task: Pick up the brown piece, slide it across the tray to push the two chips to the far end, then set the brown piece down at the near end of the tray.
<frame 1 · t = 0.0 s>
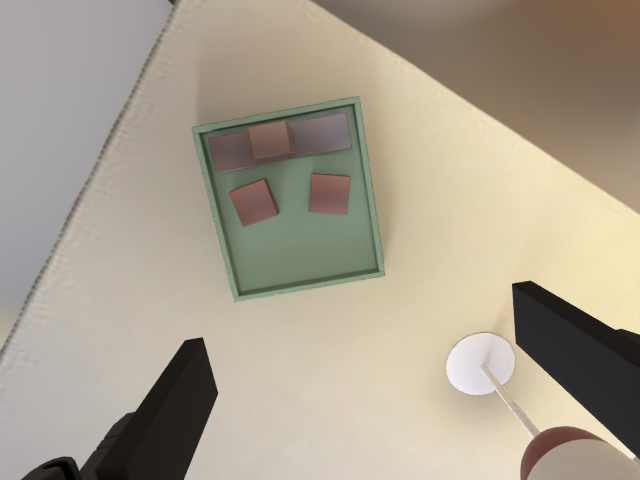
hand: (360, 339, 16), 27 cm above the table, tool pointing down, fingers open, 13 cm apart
chip b: (328, 192, 41), resting on tray
brown piece: (282, 143, 39), resting on tray
chip a: (256, 201, 41), resting on tray
tray: (294, 203, 41), on the table
wineglass: (479, 363, 46), on the table
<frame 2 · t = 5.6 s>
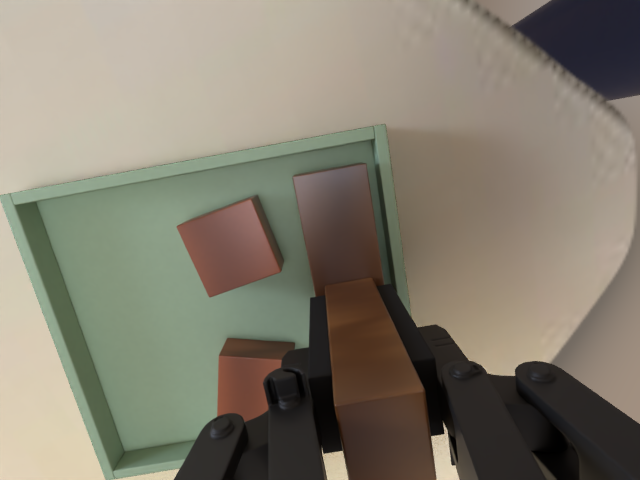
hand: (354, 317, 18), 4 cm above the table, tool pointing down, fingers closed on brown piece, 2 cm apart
chip b: (259, 370, 22), resting on tray
brown piece: (348, 290, 21), point 1 cm above the table, touching gripper
chip a: (237, 240, 20), resting on tray
tray: (237, 306, 22), on the table
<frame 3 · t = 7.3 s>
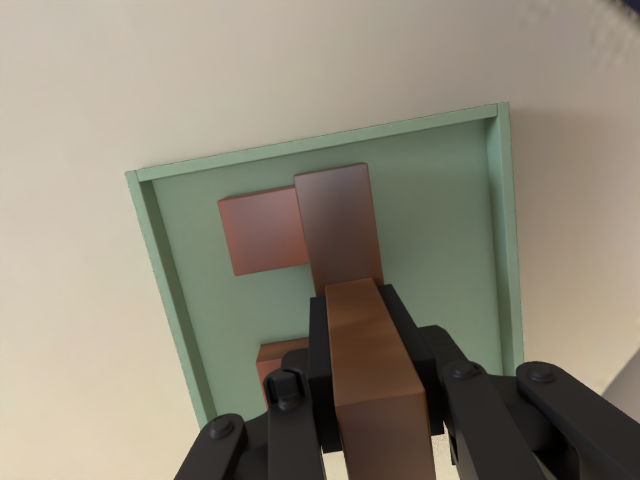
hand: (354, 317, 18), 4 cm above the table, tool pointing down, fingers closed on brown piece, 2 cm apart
chip b: (299, 368, 23), point 1 cm above the table, touching brown piece
brown piece: (348, 290, 21), point 1 cm above the table, touching chip b, gripper
chip a: (269, 225, 21), point 1 cm above the table
tray: (339, 286, 22), on the table
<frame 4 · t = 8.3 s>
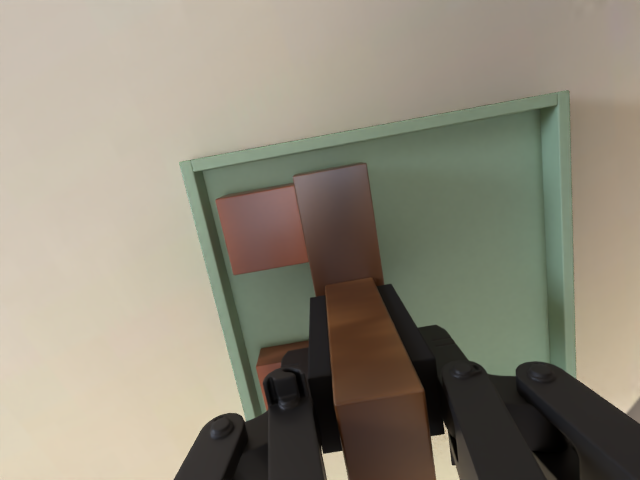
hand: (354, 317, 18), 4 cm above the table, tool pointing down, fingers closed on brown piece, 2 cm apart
chip b: (299, 371, 22), resting on tray, touching brown piece
brown piece: (348, 290, 21), point 1 cm above the table, touching chip a, chip b, gripper
chip a: (268, 224, 20), resting on tray, touching brown piece
tray: (387, 278, 22), on the table
when the fingers open (4 cm above the table, at t = 13.6 s): brown piece stays where it is, resting on tray.
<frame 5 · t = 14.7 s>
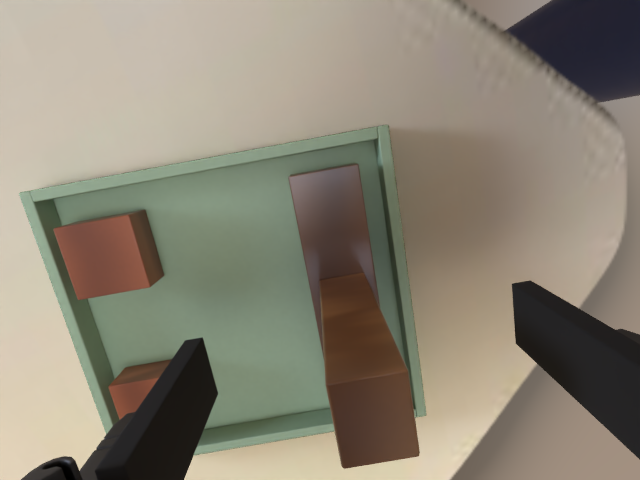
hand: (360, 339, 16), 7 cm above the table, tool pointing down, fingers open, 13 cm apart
chip b: (165, 389, 23), resting on tray
brown piece: (342, 286, 22), resting on tray
chip a: (121, 249, 21), resting on tray
tray: (245, 300, 23), on the table
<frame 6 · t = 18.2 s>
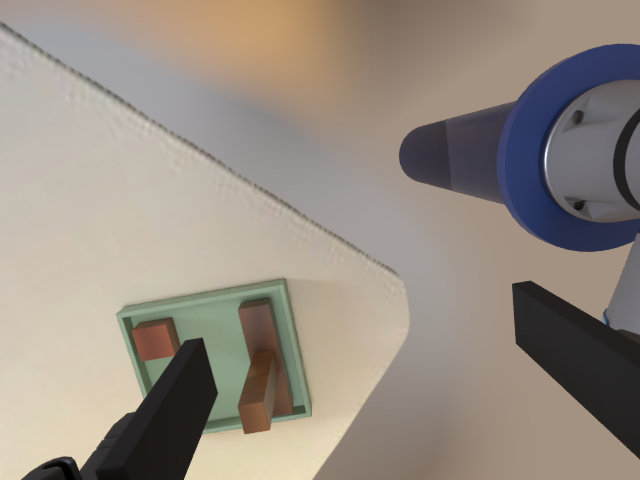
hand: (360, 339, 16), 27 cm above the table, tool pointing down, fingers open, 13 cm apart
brown piece: (268, 352, 44), resting on tray
chip a: (160, 335, 44), resting on tray
tray: (221, 358, 45), on the table
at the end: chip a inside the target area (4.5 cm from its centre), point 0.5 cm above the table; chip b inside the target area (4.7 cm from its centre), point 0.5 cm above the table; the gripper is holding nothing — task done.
